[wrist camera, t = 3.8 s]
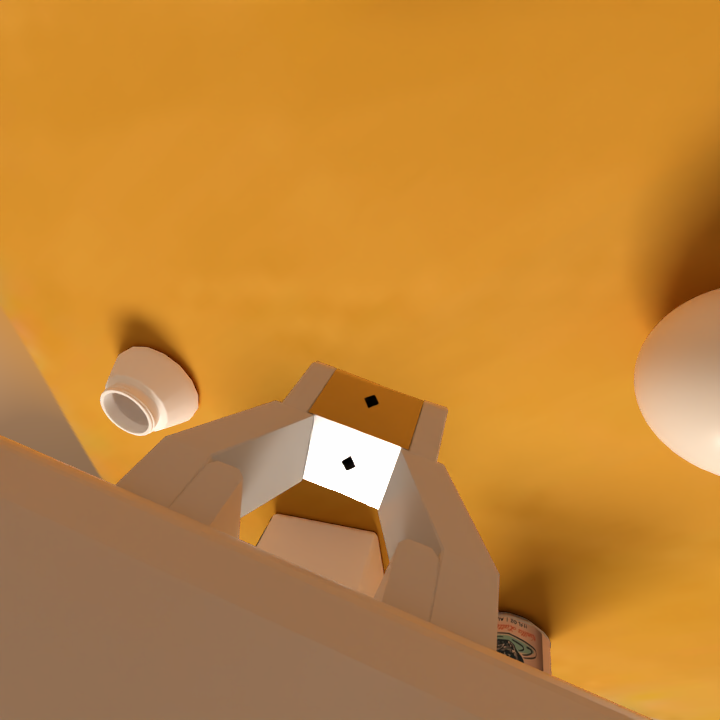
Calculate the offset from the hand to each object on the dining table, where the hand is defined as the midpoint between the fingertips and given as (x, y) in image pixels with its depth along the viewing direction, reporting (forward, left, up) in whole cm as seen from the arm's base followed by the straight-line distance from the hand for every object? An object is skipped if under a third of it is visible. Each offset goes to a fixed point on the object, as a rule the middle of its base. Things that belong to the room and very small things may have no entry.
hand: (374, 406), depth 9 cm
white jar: (+11, -13, -9) cm, 19 cm away
